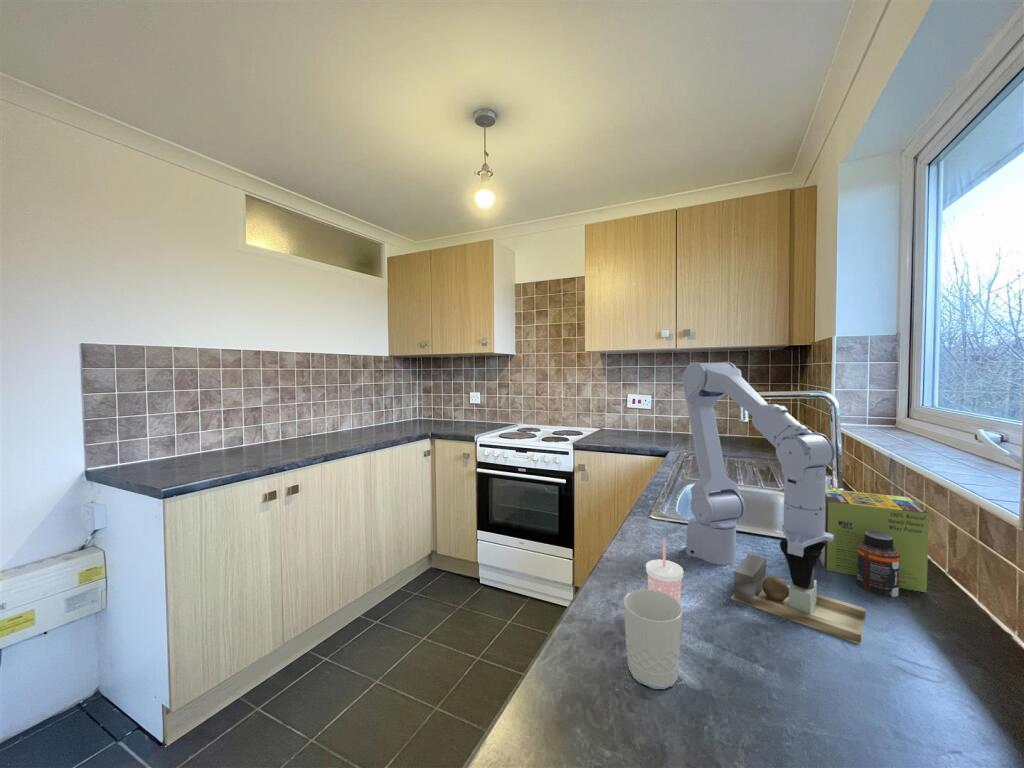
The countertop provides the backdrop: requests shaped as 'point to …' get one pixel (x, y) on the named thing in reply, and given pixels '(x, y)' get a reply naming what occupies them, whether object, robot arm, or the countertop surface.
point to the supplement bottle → (878, 565)
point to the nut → (775, 589)
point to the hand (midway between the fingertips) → (802, 581)
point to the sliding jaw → (803, 596)
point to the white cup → (653, 636)
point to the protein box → (880, 514)
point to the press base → (825, 615)
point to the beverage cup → (665, 576)
